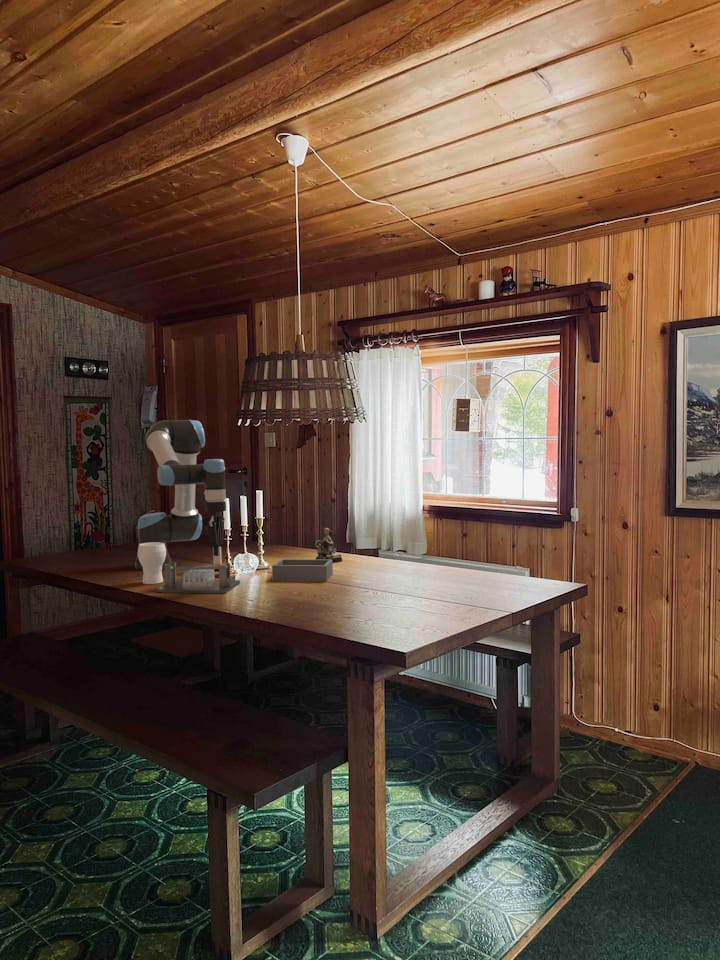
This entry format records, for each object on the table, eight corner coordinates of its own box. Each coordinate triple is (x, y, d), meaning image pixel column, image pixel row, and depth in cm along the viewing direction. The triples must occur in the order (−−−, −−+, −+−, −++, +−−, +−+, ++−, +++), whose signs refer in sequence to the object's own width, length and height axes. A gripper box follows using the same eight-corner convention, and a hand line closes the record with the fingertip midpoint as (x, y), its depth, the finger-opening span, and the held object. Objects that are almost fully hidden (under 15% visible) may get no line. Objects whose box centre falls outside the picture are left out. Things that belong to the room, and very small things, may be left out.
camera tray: (281, 574, 298) (280, 559, 297) (332, 575, 295) (332, 559, 295) (272, 582, 284) (272, 565, 283) (326, 582, 281) (326, 566, 280)
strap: (166, 572, 272) (166, 567, 272) (169, 570, 275) (169, 565, 275) (226, 569, 269) (225, 564, 269) (228, 568, 272) (228, 563, 272)
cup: (159, 585, 277) (157, 546, 277) (133, 584, 280) (132, 545, 279) (171, 579, 288) (170, 542, 287) (146, 579, 290) (145, 541, 289)
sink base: (156, 592, 265) (155, 567, 264) (175, 582, 283) (174, 559, 282) (225, 593, 261) (224, 568, 261) (240, 583, 279) (239, 559, 279)
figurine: (311, 562, 323) (310, 529, 322) (322, 558, 333) (321, 526, 332) (335, 564, 318) (335, 530, 317) (345, 560, 328) (345, 527, 327)
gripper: (211, 499, 276) (213, 561, 277) (199, 502, 263) (201, 567, 264) (230, 499, 275) (232, 561, 276) (219, 502, 262) (221, 567, 263)
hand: (217, 564), depth 270 cm, fingers closed
